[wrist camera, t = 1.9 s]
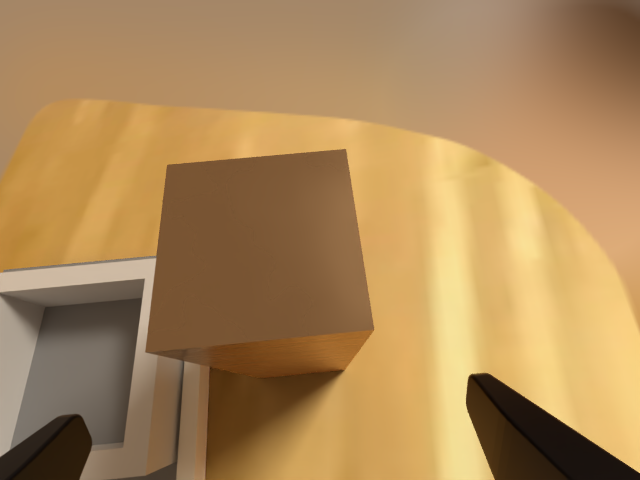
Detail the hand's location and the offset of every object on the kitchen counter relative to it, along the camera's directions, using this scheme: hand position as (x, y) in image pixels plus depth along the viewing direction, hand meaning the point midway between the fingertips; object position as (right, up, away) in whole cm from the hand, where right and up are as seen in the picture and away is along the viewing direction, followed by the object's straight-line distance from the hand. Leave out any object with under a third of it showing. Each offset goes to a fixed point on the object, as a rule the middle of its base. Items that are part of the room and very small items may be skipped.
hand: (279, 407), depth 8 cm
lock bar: (0, -1, +11) cm, 11 cm away
